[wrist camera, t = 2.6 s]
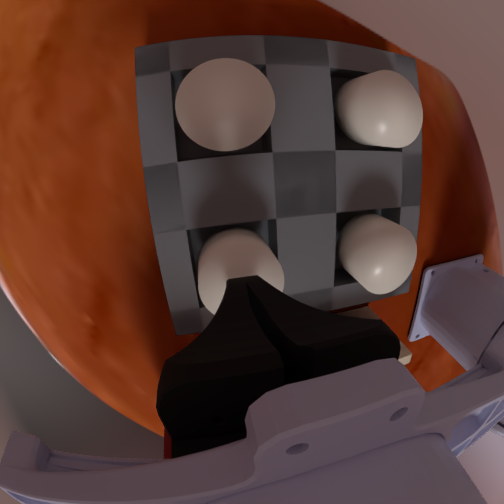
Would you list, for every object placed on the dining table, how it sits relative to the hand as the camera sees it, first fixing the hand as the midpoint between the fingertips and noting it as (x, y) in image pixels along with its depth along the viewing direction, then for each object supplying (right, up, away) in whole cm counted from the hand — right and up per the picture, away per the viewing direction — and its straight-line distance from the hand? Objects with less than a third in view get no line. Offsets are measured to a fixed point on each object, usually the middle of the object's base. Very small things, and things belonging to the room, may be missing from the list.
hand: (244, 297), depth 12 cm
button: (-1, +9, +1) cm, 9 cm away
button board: (+3, +7, +5) cm, 9 cm away
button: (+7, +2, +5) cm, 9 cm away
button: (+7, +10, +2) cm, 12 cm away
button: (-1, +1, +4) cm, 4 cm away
